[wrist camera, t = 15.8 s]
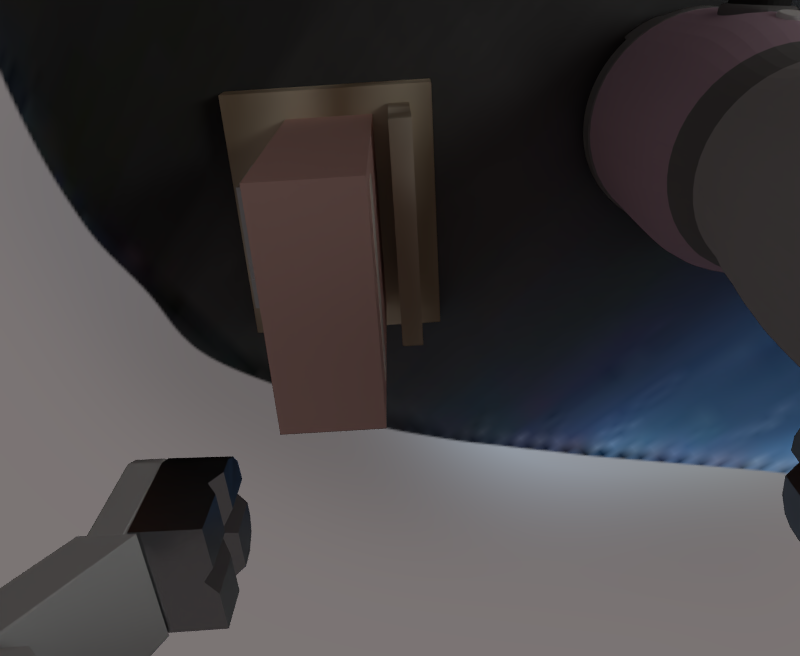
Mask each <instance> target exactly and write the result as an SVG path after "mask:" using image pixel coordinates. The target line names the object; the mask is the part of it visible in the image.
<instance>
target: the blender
mask: <svg viewBox="0 0 800 656" xmlns="http://www.w3.org/2000/svg"><path fill="white" fill-rule="evenodd" d="M791 2H792V0H729V1H728V3H723V4H721V5H720V6H696V7H689V8H684V9H680V10H677V11H674V12H671V13H668V14H665V15H662V16H657V17H654V18H652V19H650V20H648V21H646V22H645V23H643V24H641V25H640V26H638V27H637V28H635V29H634V30H632V31H631V32H630V33H629V34H627V35H626V36H625V39H626V40H625V41H624V42H623V43H622V44H621V45H620V46H619V47H618V49H617V50H616V51H615V52H614V53H613V54H612V56H611V57H610V58H609V60H608V61H607V62H606V64H605V65H604V67H603V68H602V70H601V72H600V73H599V75H598V77H597V79H596V81H595V83H594V85H593V88H592V90H591V93H590V95H589V99H588V102H587V106H586V110H585V115H584V124H583V143H584V151H585V155H586V160H587V163H588V166H589V169H590V171H591V173H592V175H593V177H594V179H595V181H596V183H597V184H598V186H599V187H600V188H601V190H602V191H603V192H604V193H605V194H606V195H607V196H608V198H609V199H610V200H611V201H612V202H613V203H614V204H616V205H617V206H618V207H619V208H620V209H621V210H623V211H624V212H626V213H627V214H628V215H629V216H630V217H631V218H632V219H633V220H634V221H635V222H636V223H637V224H638V225H639V226H640V227H641V228H642V229H643V230H644V231H645V232H646V233H647V234H648V235H649V236H650V237H651V238H652V239H653V240H654V241H655V242H656V243H657V244H659V245H660V246H661V247H662V248H663V249H665V250H666V251H668V252H669V253H671V254H673V255H675V256H676V257H678V258H680V259H682V260H683V261H685V262H687V263H689V264H692V265H695V266H697V267H701V268H705V269H708V270H712V271H718V272H724V273H725V274H726V276H727V277H728V279H729V280H730V281H731V283H732V284H733V286H734V287H735V289H736V291H737V292H738V294H739V295H740V297H741V299H742V300H743V302H744V303H745V304H746V306H747V307H748V309H749V310H750V311H751V313H752V314H753V315H754V317H755V318H756V319H757V321H758V322H759V324H760V325H761V326H762V327H763V329H764V330H765V331H766V332H767V333H768V335H769V336H770V337H771V338H772V339H773V340H774V341H775V342H776V343H777V344H778V346H779V347H780V348H781V349H782V350H783V351H784V352H785V353H786V354H787V355H788V356H789V357H790V358H791V359H792V360H793V361H794V362H795V363H796V364H797V365H798V366H799V367H800V11H799V10H798V8H797V7H796V6H791Z"/></svg>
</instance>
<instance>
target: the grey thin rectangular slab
mask: <svg viewBox="0 0 800 656" xmlns="http://www.w3.org/2000/svg"><path fill="white" fill-rule="evenodd" d="M251 167H252V166H251ZM251 167H250V168H251ZM249 170H250V169H249ZM249 170H248V171H249ZM248 171H247V172H248ZM246 174H247V173H246ZM246 174H245V175H246ZM244 177H245V176H244ZM244 177H243V178H244ZM243 178H242V179H243ZM241 181H242V180H241ZM241 181H240V182H241ZM236 191H237V197H238V204H239V210H240V216H241V222H242V228H243V234H244V240H245V246H246V252H247V258H248V264H249V270H250V276H251V282H252V288H253V294H254V300H255V306H256V308H260V306H259V300H258V294H257V288H256V282H255V275H254V269H253V263H252V257H251V251H250V245H249V239H248V233H247V226H246V220H245V214H244V208H243V202H242V196H241V190H240V183H239V184H238V185H237V187H236Z"/></svg>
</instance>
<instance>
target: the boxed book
mask: <svg viewBox="0 0 800 656" xmlns="http://www.w3.org/2000/svg"><path fill="white" fill-rule="evenodd" d="M240 190H241V196H242V202H243V208H244V214H245V220H246V226H247V233H248V239H249V245H250V251H251V257H252V263H253V269H254V275H255V282H256V288H257V294H258V300H259V306H260V312H261V318H262V324H263V331H264V337H265V343H266V349H267V355H268V361H269V367H270V373H271V380H272V386H273V392H274V398H275V404H276V410H277V416H278V422H279V429H280V434H281V435H282V434H300V433H317V432H331V431H332V432H333V431H350V430H367V429H384V428H387V303H386V289H385V276H384V263H383V249H382V236H381V223H380V209H379V196H378V183H377V169H376V156H375V143H374V129H373V116H372V114H362V115H346V116H331V117H315V118H300V119H285V120H284V122H283V123H282V125H281V126H280V127H279V129H278V130H277V132H276V133H275V134H274V136H273V137H272V139H271V140H270V141H269V143H268V144H267V146H266V147H265V148H264V150H263V151H262V153H261V154H260V156H259V157H258V158H257V160H256V161H255V163H254V164H253V165H252V167H251V168H250V170H249V171H248V172H247V174H246V175H245V177H244V178H243V179H242V181H241V182H240Z"/></svg>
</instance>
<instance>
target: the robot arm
mask: <svg viewBox="0 0 800 656" xmlns="http://www.w3.org/2000/svg"><path fill="white" fill-rule="evenodd" d="M791 451H792V453H793V454H794V456H795V457H796V458H797V460H798V461H799V463H798V464H797V465H796V466H795V467H794V468H793V469H792V470H791V471H790V472H789V473H788V474H787V475H786V476H785V482H784V488H783V495H782V496H783V503H784V510H785V515H786V517H787V520H788V522H789V525H790V527H791V529H792V530H793V532H794V533H795V535H796V537H797V538H798V540H799V541H800V429H799V430H798V432H797V433H796V435H795V436H794V440H793V445H792V449H791ZM241 481H242V477H241V473H240V469H239V465H238V462H237V460H236V459H234V457H202V458H169V459H149V460H135V461H133V462H131V463H130V464H128V466H127V467H126V469H125V470H124V472H123V474H122V476H121V478H120V479H119V481H118V483H117V484H116V486H115V488H114V490H113V491H112V493H111V495H110V497H109V498H108V500H107V502H106V504H105V505H104V507H103V509H102V511H101V512H100V514H99V516H98V518H97V519H96V521H95V523H94V525H93V526H92V528H91V530H90V532H89V533H88V535H87V536H80V537H75V538H74V539H73V540H71V541H70V542H68V543H67V544H65V545H64V546H62V547H61V548H59V549H58V550H56V551H55V552H53V553H52V554H50V555H49V556H47V557H46V558H45V559H43V560H42V561H40V562H39V563H37V564H35V565H34V566H32V567H31V568H30V569H28V570H27V571H25V572H24V573H22V574H21V575H19V576H18V577H16V578H15V579H13V580H12V581H11V582H9V583H7V584H6V585H4V586H3V587H2V588H0V656H151V655H152V654H153V653H154V652H155V650H156V649H157V648H158V647H159V646H160V645H161V644H162V643H163V642H164V641H165V640H166V638H167V637H168V636H169V634H168V633H170V632H184V631H199V630H213V629H227V628H229V625H230V622H231V618H232V614H233V611H234V608H235V604H236V600H237V597H238V593H239V587H238V583H237V579H236V575H237V574H238V573H239V572H240V571H241V570H242V569H243V568H244V567H246V564H247V560H248V555H249V552H250V541H251V521H250V513H249V508H248V503H247V502H246V501H245V500H244V499H243V498H241V496H239V495H238V494H237V493H238V490H239V487H240V484H241Z"/></svg>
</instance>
